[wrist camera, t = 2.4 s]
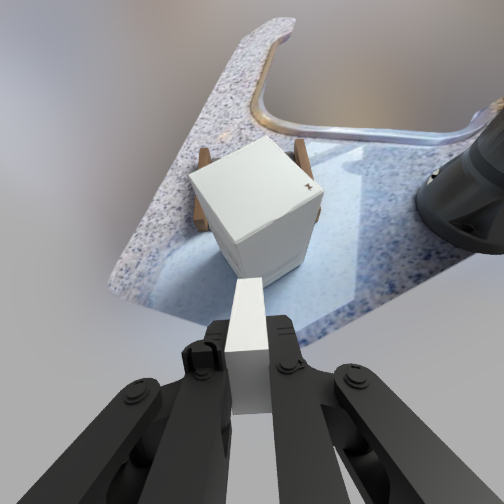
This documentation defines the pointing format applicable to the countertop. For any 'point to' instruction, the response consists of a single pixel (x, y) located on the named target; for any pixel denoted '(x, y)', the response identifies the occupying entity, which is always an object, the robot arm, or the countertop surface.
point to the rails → (205, 160)
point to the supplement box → (259, 209)
